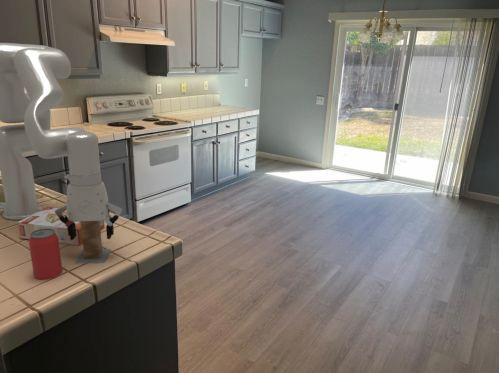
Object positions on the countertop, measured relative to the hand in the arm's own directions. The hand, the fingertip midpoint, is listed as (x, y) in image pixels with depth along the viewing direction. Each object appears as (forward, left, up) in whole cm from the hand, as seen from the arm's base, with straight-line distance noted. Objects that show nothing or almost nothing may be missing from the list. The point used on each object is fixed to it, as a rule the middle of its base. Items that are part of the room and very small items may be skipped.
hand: (91, 237), depth 107 cm
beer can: (-9, -8, -7) cm, 14 cm away
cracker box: (-3, +14, -3) cm, 14 cm away
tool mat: (0, 0, -6) cm, 6 cm away
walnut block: (0, 0, -6) cm, 6 cm away
